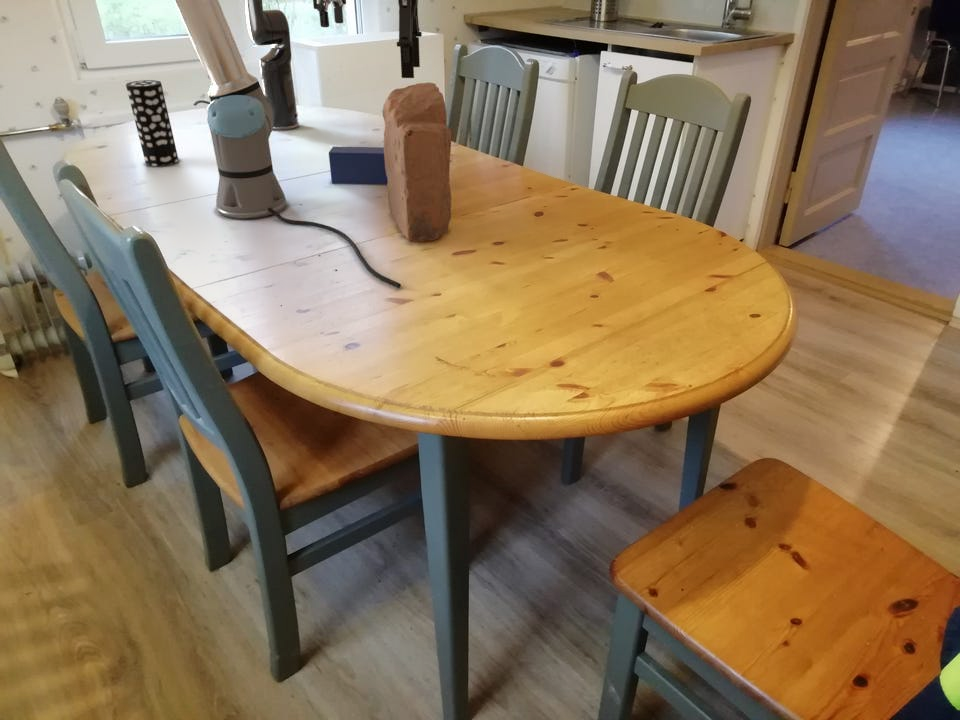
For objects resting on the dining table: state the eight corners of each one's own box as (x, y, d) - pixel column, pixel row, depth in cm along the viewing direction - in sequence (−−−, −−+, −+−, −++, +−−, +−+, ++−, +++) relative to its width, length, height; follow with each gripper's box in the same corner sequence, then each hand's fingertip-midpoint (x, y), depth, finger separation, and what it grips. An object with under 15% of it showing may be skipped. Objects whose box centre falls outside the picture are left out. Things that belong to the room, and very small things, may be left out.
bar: (433, 178, 177) (432, 148, 173) (431, 185, 173) (430, 154, 169) (336, 176, 178) (332, 146, 173) (331, 183, 173) (328, 152, 169)
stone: (462, 239, 143) (459, 96, 128) (408, 246, 140) (400, 100, 125) (434, 208, 160) (429, 79, 146) (387, 213, 157) (377, 82, 143)
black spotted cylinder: (184, 157, 190) (167, 80, 179) (169, 166, 183) (151, 87, 172) (155, 156, 190) (136, 79, 179) (139, 165, 183) (119, 86, 172)
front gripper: (396, -36, 160) (401, 62, 172) (381, -29, 139) (387, 82, 151) (428, -36, 160) (431, 62, 171) (418, -29, 139) (422, 83, 150)
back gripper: (325, -46, 184) (331, 21, 192) (298, -44, 172) (307, 27, 181) (350, -46, 182) (356, 22, 191) (326, -43, 170) (333, 29, 179)
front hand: (411, 72), depth 161 cm, fingers open, 13 cm apart
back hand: (332, 25), depth 186 cm, fingers open, 8 cm apart
